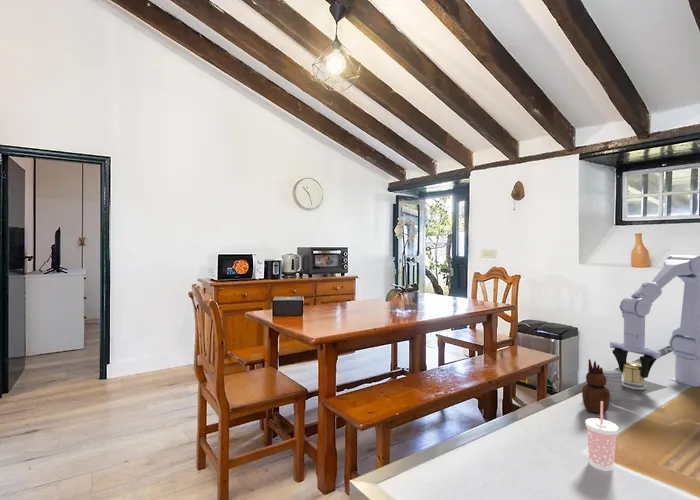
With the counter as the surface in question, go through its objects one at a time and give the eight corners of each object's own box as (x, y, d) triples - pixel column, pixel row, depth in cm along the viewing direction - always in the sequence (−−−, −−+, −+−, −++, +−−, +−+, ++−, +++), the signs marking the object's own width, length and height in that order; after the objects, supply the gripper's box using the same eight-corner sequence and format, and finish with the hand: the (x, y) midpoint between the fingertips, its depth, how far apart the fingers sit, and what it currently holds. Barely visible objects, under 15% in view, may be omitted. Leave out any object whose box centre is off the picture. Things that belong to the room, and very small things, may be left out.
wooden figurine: (582, 412, 114) (583, 360, 113) (581, 405, 119) (582, 355, 118) (610, 417, 110) (611, 363, 110) (608, 409, 116) (609, 358, 115)
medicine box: (613, 395, 126) (614, 368, 126) (621, 401, 122) (622, 373, 121) (587, 394, 127) (587, 367, 127) (594, 400, 122) (595, 372, 122)
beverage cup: (587, 454, 91) (588, 394, 91) (619, 463, 88) (620, 400, 87) (582, 465, 87) (583, 402, 86) (616, 476, 83) (617, 409, 82)
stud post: (628, 381, 137) (628, 366, 137) (651, 388, 131) (651, 372, 131) (616, 385, 134) (616, 368, 134) (638, 392, 128) (638, 375, 128)
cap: (629, 375, 136) (629, 361, 136) (646, 380, 131) (647, 365, 131) (619, 378, 134) (620, 363, 133) (637, 383, 129) (637, 367, 129)
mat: (635, 378, 141) (635, 377, 141) (667, 388, 132) (667, 387, 132) (606, 385, 134) (606, 384, 134) (639, 396, 125) (639, 395, 125)
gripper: (604, 330, 137) (604, 369, 137) (651, 339, 124) (650, 383, 124) (617, 328, 140) (616, 366, 140) (664, 337, 127) (663, 379, 127)
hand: (633, 374), depth 132 cm, fingers open, 6 cm apart
